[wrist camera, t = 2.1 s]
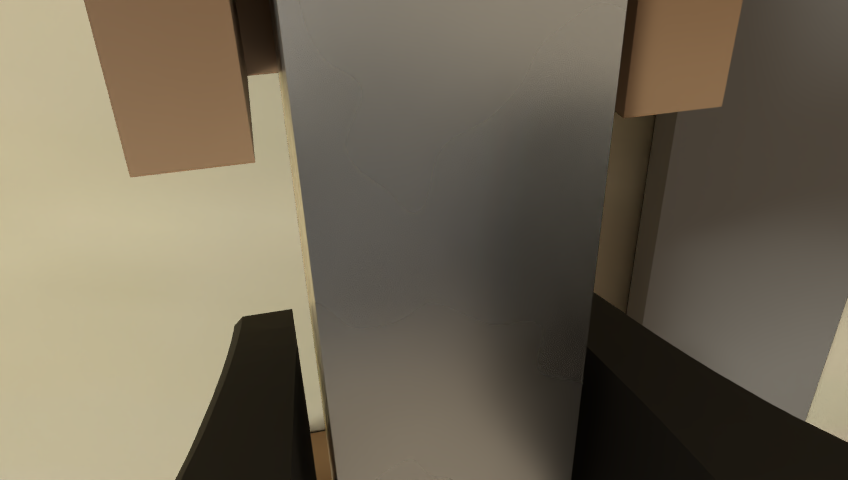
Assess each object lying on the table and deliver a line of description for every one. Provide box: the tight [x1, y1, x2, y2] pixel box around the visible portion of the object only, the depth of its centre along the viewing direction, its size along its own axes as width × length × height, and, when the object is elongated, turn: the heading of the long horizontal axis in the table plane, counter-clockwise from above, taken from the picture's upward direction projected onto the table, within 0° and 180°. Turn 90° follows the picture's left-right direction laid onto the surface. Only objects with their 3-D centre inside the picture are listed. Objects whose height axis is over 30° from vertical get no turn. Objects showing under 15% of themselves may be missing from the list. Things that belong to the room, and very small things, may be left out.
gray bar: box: [626, 0, 848, 421], centre depth 13 cm, size 18×4×1 cm, turn 2°
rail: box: [269, 0, 628, 480], centre depth 9 cm, size 16×2×2 cm, turn 2°
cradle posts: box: [84, 0, 743, 480], centre depth 10 cm, size 13×5×5 cm, turn 2°
